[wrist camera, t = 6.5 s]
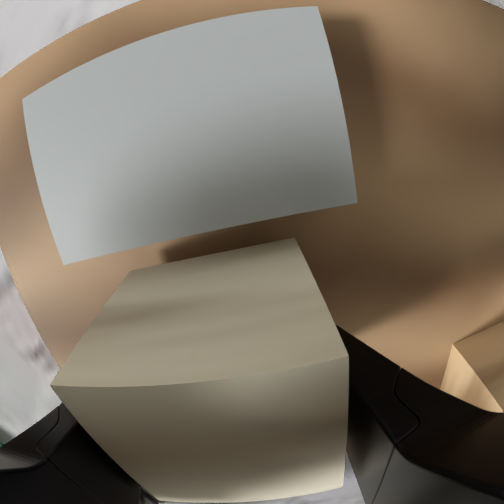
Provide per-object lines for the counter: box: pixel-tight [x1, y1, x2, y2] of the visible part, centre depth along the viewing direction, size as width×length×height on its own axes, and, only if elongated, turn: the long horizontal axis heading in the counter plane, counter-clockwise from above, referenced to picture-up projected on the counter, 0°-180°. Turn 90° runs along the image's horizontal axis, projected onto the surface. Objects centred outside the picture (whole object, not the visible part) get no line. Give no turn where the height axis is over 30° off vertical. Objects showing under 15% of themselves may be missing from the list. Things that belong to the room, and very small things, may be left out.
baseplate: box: [0, 0, 504, 389], centre depth 11 cm, size 22×24×1 cm
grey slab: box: [22, 6, 357, 265], centre depth 7 cm, size 5×8×2 cm, turn 101°
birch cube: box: [50, 238, 349, 503], centre depth 7 cm, size 5×5×5 cm
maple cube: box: [440, 321, 504, 412], centre depth 10 cm, size 5×5×5 cm
